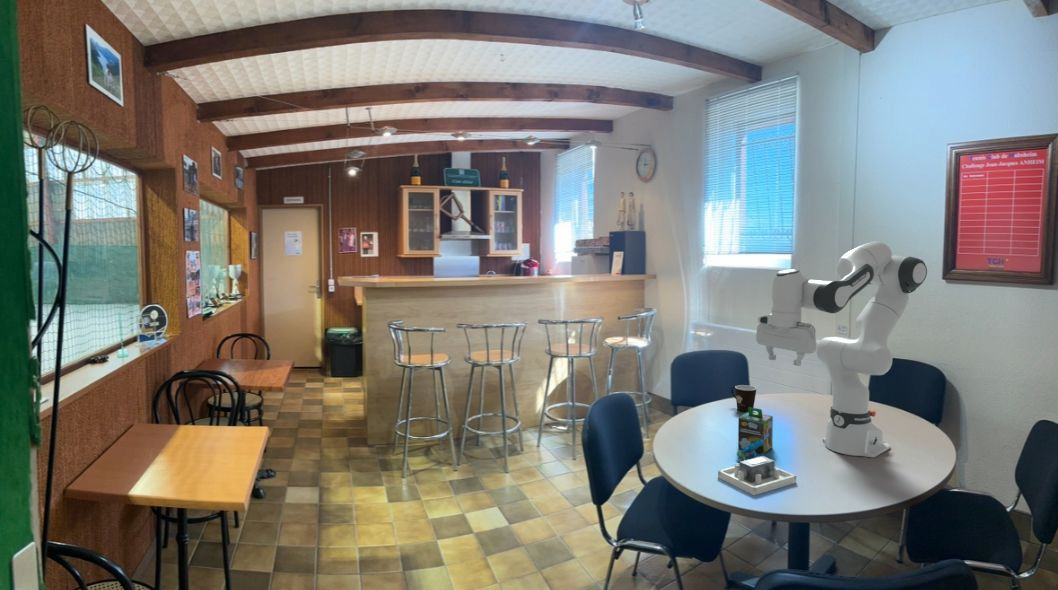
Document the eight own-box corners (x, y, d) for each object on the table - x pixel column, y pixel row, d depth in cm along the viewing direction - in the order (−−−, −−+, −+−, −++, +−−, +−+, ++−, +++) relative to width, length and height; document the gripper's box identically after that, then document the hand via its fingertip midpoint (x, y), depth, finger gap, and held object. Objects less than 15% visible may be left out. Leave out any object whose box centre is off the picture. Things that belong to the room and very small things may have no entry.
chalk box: (772, 447, 201) (774, 407, 199) (763, 455, 194) (765, 413, 193) (746, 441, 207) (748, 402, 205) (737, 448, 200) (738, 407, 199)
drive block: (762, 471, 178) (762, 455, 178) (774, 476, 174) (774, 460, 174) (739, 477, 174) (739, 461, 173) (751, 482, 170) (751, 466, 169)
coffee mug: (759, 413, 239) (759, 390, 238) (738, 413, 239) (739, 390, 238) (748, 405, 251) (749, 383, 250) (729, 405, 251) (729, 383, 250)
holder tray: (758, 466, 184) (759, 454, 184) (796, 482, 172) (796, 470, 172) (717, 477, 176) (718, 465, 176) (754, 495, 164) (754, 482, 164)
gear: (752, 447, 196) (767, 435, 189) (762, 463, 193) (778, 450, 186) (728, 457, 192) (742, 444, 185) (738, 473, 189) (753, 461, 181)
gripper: (822, 323, 174) (820, 367, 175) (767, 315, 192) (765, 355, 193) (808, 325, 171) (806, 370, 172) (753, 317, 189) (752, 357, 190)
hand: (784, 362), depth 183 cm, fingers open, 8 cm apart
